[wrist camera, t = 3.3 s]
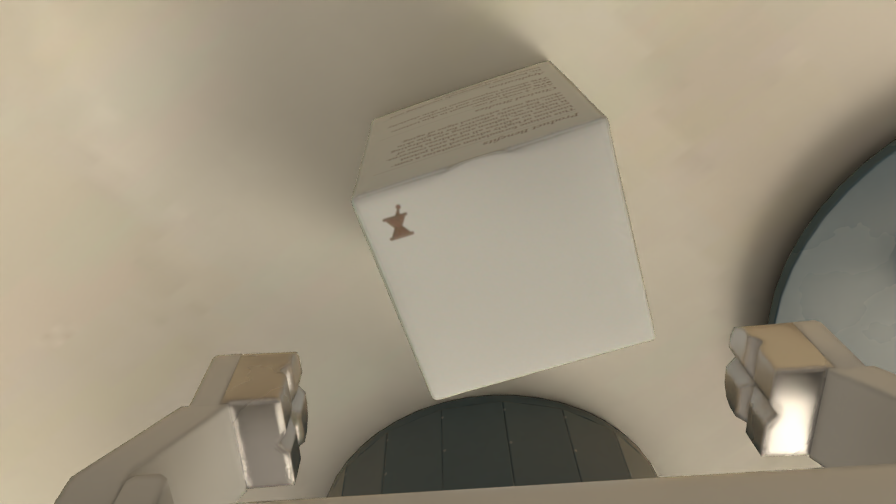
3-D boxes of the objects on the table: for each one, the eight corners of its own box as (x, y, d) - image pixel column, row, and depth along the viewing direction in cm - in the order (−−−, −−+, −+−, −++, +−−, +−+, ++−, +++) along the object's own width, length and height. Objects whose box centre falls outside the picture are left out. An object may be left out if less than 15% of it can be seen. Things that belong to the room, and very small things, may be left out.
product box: (428, 278, 25) (426, 408, 18) (367, 115, 22) (340, 196, 16) (598, 228, 24) (662, 344, 18) (555, 54, 22) (610, 112, 15)
